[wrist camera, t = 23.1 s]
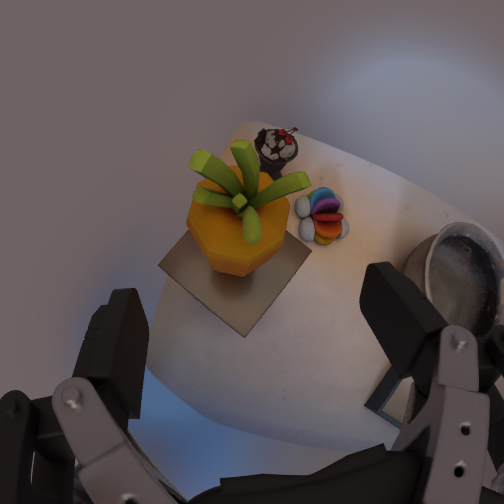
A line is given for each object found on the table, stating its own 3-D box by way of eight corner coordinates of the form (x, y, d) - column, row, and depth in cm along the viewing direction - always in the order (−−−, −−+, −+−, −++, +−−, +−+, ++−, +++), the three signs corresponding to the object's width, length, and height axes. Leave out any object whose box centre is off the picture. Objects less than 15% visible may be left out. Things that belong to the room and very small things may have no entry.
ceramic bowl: (374, 357, 46) (424, 365, 31) (376, 238, 51) (422, 209, 36) (459, 350, 47) (510, 351, 32) (458, 250, 52) (505, 230, 38)
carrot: (277, 252, 24) (345, 149, 9) (242, 303, 23) (268, 267, 8) (226, 219, 24) (227, 84, 10) (190, 267, 23) (134, 177, 8)
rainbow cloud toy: (300, 249, 49) (312, 237, 42) (291, 197, 51) (300, 178, 44) (345, 244, 50) (362, 232, 43) (334, 194, 52) (348, 176, 45)
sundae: (293, 183, 52) (315, 135, 38) (261, 198, 51) (274, 152, 36) (274, 156, 53) (289, 104, 39) (243, 169, 52) (249, 117, 38)
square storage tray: (403, 431, 42) (417, 438, 37) (364, 405, 43) (376, 412, 39) (436, 379, 45) (452, 382, 40) (401, 349, 46) (416, 350, 41)
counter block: (236, 330, 45) (244, 338, 22) (192, 294, 46) (157, 265, 23) (271, 287, 47) (312, 250, 24) (228, 252, 48) (228, 186, 25)
